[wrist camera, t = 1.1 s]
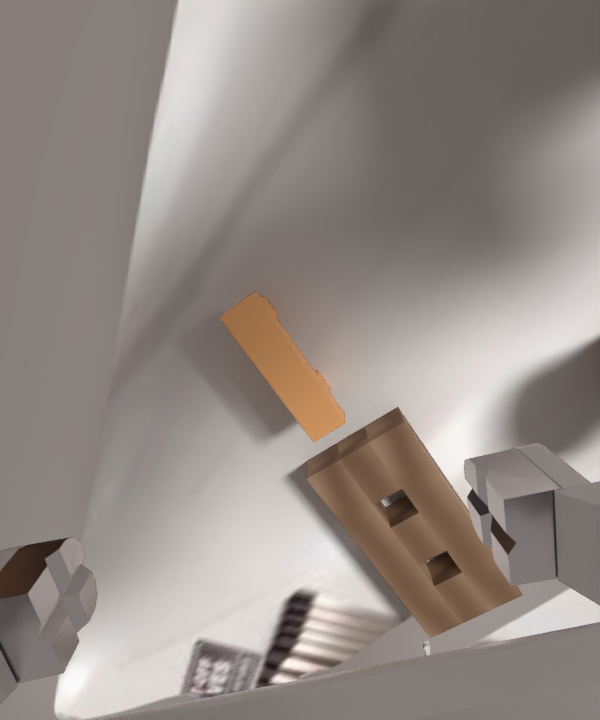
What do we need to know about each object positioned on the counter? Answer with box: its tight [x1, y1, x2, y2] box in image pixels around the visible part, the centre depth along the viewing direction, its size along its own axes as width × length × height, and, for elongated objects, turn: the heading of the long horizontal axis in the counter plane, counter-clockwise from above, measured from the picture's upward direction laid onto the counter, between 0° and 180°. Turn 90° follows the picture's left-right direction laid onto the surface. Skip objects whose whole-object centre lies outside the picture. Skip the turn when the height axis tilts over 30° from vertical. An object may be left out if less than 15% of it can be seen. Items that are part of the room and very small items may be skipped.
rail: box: [306, 407, 522, 638], centre depth 43 cm, size 10×22×3 cm, turn 35°
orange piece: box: [220, 290, 346, 442], centre depth 36 cm, size 3×12×6 cm, turn 35°
